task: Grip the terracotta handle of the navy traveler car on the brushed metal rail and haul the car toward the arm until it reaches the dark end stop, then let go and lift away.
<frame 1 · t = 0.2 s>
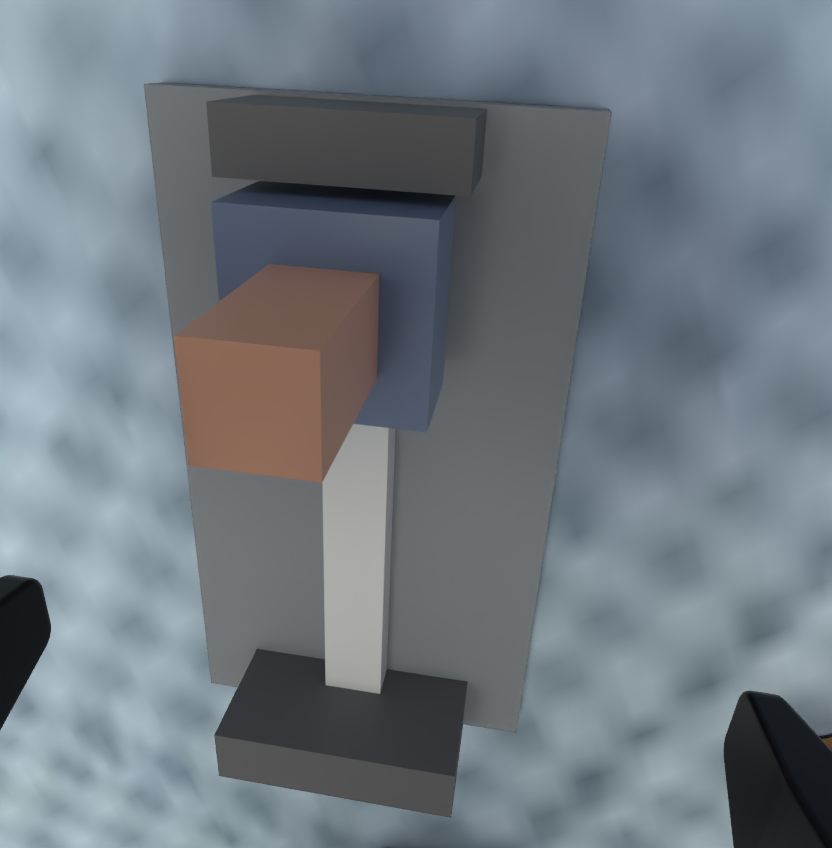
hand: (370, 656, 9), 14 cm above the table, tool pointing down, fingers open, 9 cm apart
traveler car: (313, 335, 16), point 6 cm above the table, slide at 0.0 cm
traveler track: (369, 470, 25), on the table
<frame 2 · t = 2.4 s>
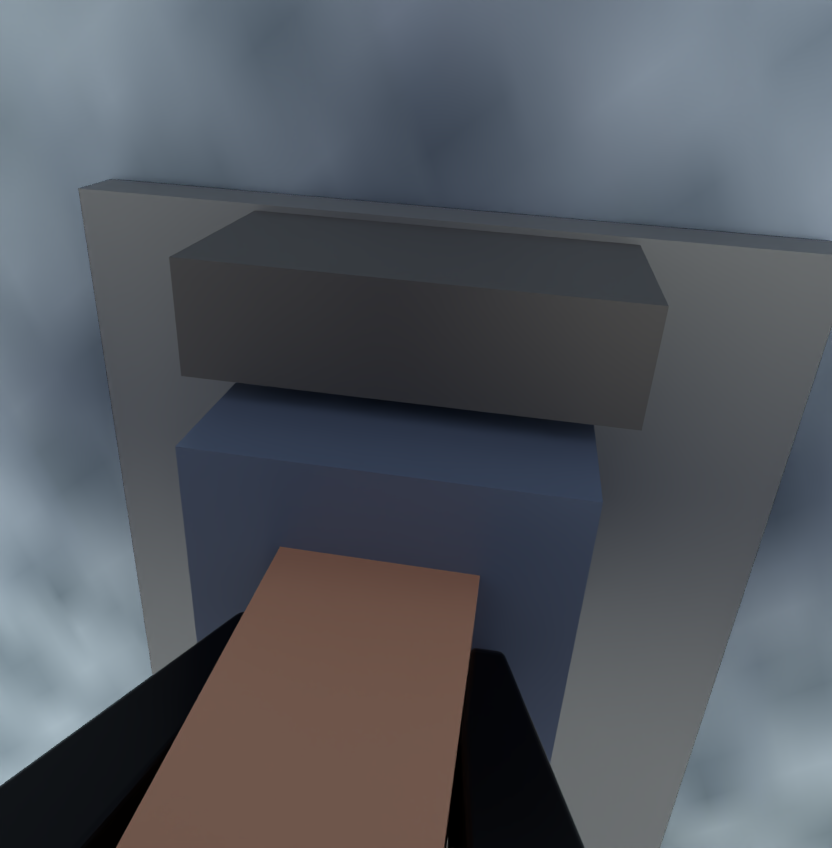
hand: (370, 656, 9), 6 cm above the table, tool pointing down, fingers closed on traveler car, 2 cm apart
traveler car: (360, 687, 9), point 6 cm above the table, slide at 0.0 cm, touching gripper
traveler track: (413, 703, 17), on the table
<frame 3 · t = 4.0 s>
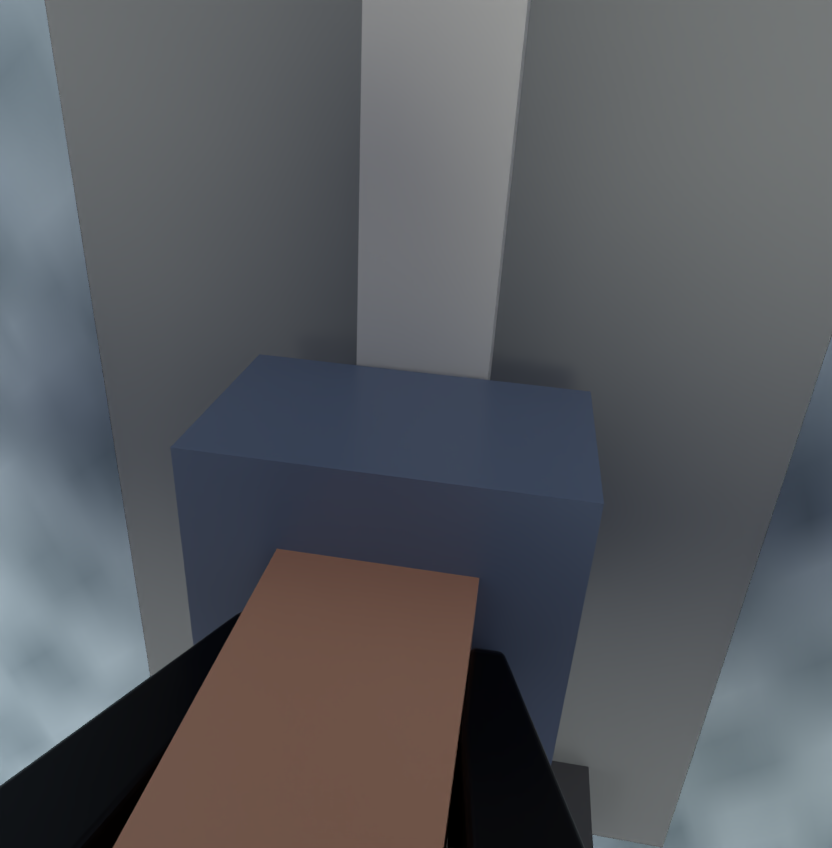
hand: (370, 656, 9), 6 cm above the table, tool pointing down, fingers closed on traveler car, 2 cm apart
traveler car: (358, 691, 9), point 6 cm above the table, slide at 8.0 cm, touching gripper
traveler track: (435, 401, 14), on the table
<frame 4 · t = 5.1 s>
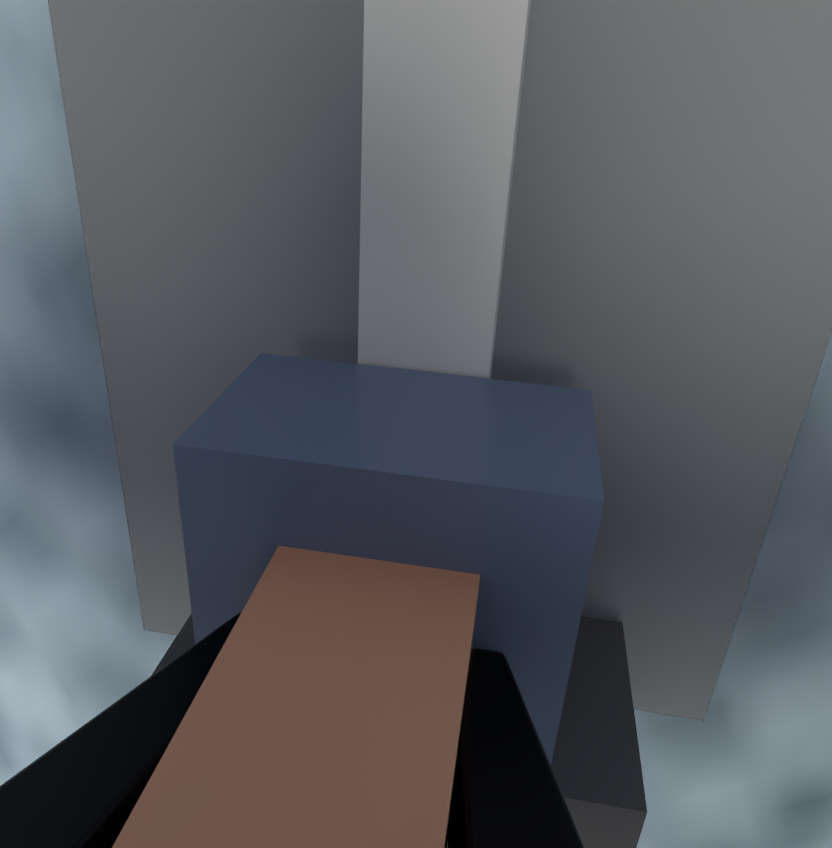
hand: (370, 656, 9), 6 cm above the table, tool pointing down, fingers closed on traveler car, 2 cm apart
traveler car: (359, 687, 9), point 6 cm above the table, slide at 12.0 cm, touching gripper
traveler track: (452, 172, 12), on the table
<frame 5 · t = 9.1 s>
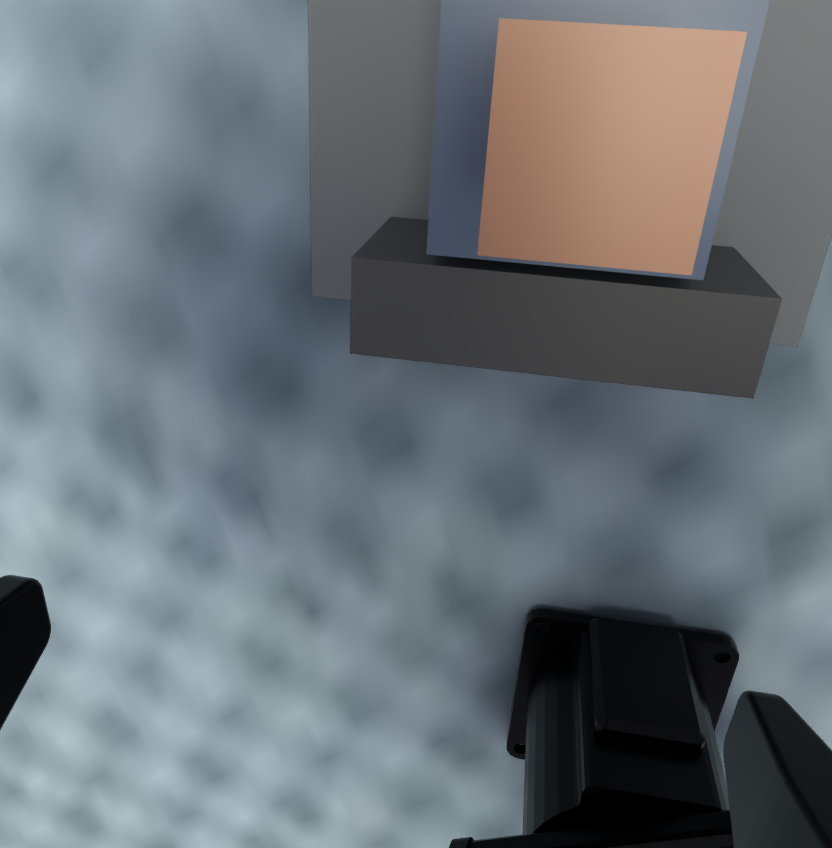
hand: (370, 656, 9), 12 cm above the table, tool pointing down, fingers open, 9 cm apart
traveler car: (585, 123, 12), point 6 cm above the table, slide at 12.0 cm
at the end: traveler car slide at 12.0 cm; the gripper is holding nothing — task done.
